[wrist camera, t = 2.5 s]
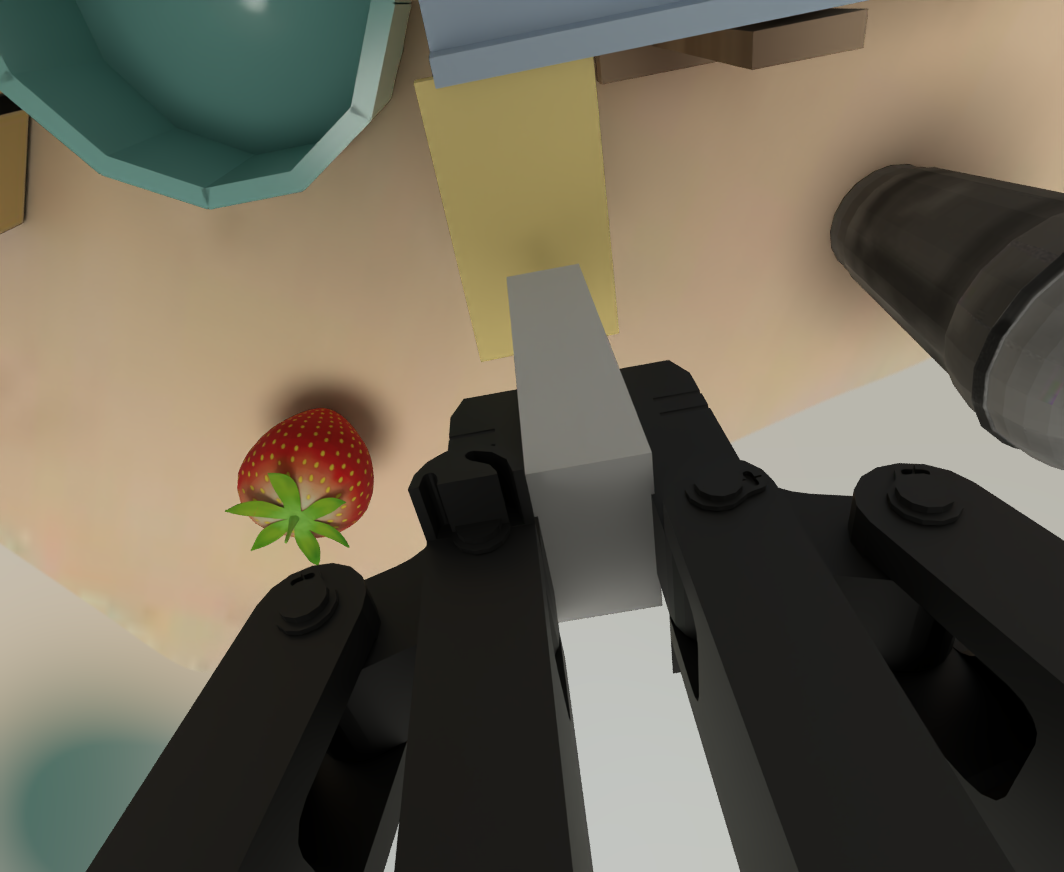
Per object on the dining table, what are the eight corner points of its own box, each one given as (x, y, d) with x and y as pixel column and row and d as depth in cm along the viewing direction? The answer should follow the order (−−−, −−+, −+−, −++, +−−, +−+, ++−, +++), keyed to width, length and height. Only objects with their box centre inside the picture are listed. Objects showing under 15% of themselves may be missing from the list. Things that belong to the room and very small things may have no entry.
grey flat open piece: (1329, -513, 11) (1587, -664, 8) (1077, 224, 18) (1175, 257, 16) (320, -311, 11) (285, -408, 8) (479, 349, 18) (486, 401, 16)
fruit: (374, 375, 29) (344, 485, 22) (392, 463, 32) (369, 583, 25) (256, 381, 28) (190, 494, 22) (284, 470, 31) (234, 593, 25)
